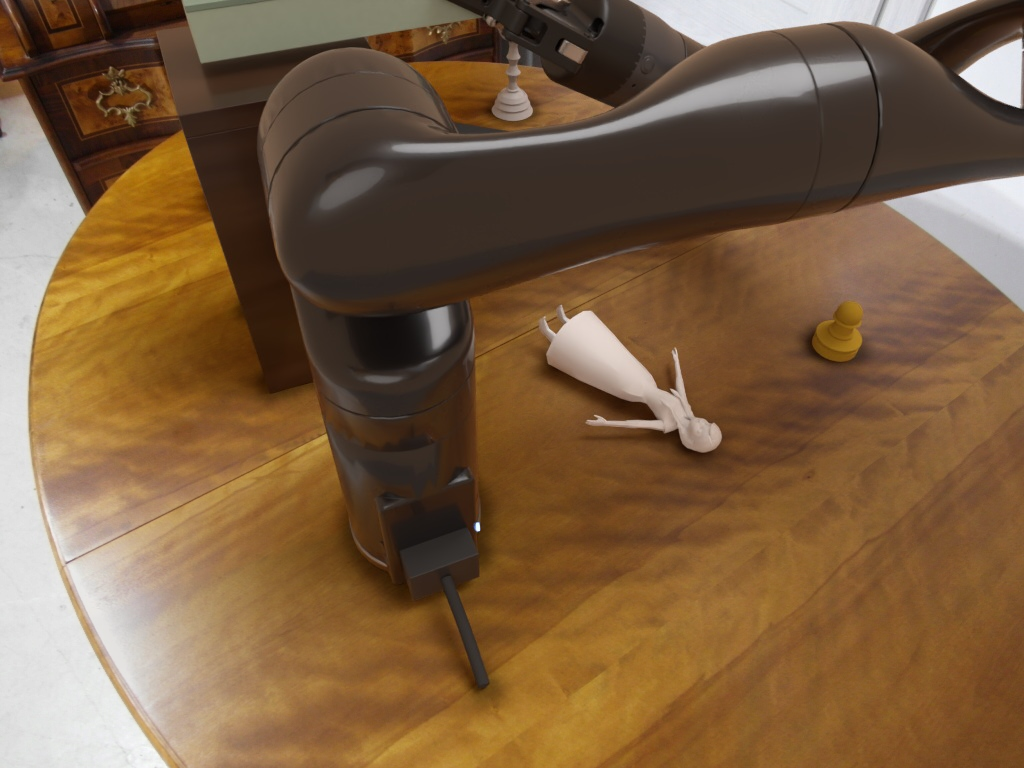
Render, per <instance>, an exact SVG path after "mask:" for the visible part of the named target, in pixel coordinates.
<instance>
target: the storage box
mask: <svg viewBox="0 0 1024 768" xmlns="http://www.w3.org/2000/svg"><path fill="white" fill-rule="evenodd" d="M515 2H516V1H515ZM181 4H182V7H183V11H184V14H185V17H186V21H187V24H188V26H189V27H190V31H191V34H192V37H193V40H194V43H195V47H196V50H197V53H198V56H199V59H200V62H201V63H208V62H214V61H220V60H226V59H232V58H239V57H245V56H251V55H257V54H263V53H269V52H275V51H281V50H287V49H293V48H300V47H306V46H312V45H318V44H324V43H330V42H336V41H342V40H348V39H354V38H361V37H367V36H368V37H373V36H378V35H385V34H390V33H397V32H401V31H402V32H403V31H408V30H416V29H422V28H426V27H432V26H440V25H446V24H452V23H458V22H464V21H469V20H476V19H483V18H484V16H485V13H484V16H483V17H482V16H479V15H477V14H475V13H473V12H471V11H469V10H466V9H464V8H462V7H460V6H458V5H456V4H453V3H451V2H449V1H447V0H181Z"/></svg>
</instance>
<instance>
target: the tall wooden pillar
mask: <svg viewBox="0 0 1024 768" xmlns="http://www.w3.org/2000/svg"><path fill="white" fill-rule="evenodd" d="M155 33H156V37H157V40H158V41H157V42H158V44H159V48H160V52H161V56H162V60H163V63H164V64H163V65H164V67H165V71H166V75H167V80H168V83H169V87H170V91H171V94H172V99H173V102H174V107H175V111H176V114H177V118H178V121H179V124H180V127H181V129H182V133H183V136H184V139H185V143H186V145H187V148H188V151H189V154H190V157H191V160H192V163H193V167H194V169H195V172H196V175H197V178H198V182H199V185H200V187H201V190H202V193H203V196H204V199H205V202H206V205H207V209H208V211H209V214H210V217H211V220H212V223H213V227H214V230H215V232H216V236H217V238H218V241H219V245H220V247H221V250H222V254H223V257H224V260H225V262H226V265H227V268H228V271H229V275H230V278H231V280H232V284H233V286H234V289H235V293H236V296H237V299H238V301H239V305H240V308H241V311H242V314H243V317H244V320H245V323H246V326H247V329H248V332H249V335H250V338H251V341H252V344H253V348H254V350H255V353H256V356H257V359H258V362H259V365H260V368H261V372H262V374H263V377H264V380H265V383H266V386H267V389H268V393H269V394H273V393H277V392H280V391H281V392H282V391H284V390H287V389H291V388H294V387H299V386H302V385H306V384H309V383H312V382H313V378H312V374H311V370H310V367H309V363H308V359H307V356H306V352H305V349H304V345H303V341H302V337H301V332H300V328H299V323H298V319H297V315H296V310H295V306H294V302H293V297H292V293H291V288H290V284H289V282H288V280H287V279H286V277H285V275H284V273H283V271H282V269H281V266H280V264H279V261H278V258H277V255H276V251H275V247H274V242H273V237H272V232H271V227H270V222H269V217H268V211H267V206H266V200H265V195H264V189H263V184H262V178H261V172H260V167H259V162H258V155H257V134H258V127H259V122H260V118H261V115H262V112H263V109H264V107H265V105H266V102H267V100H268V98H269V97H270V95H271V93H272V92H273V90H274V89H275V87H276V86H277V85H278V83H279V82H280V81H281V80H282V79H283V78H284V76H285V75H286V74H287V73H289V72H290V71H291V70H292V69H293V68H294V67H296V66H297V65H298V64H300V63H301V62H303V61H305V60H306V59H308V58H310V57H312V56H314V55H317V54H319V53H322V52H325V51H328V50H333V49H340V48H350V47H355V48H366V49H372V50H374V49H373V47H372V46H371V44H370V43H369V41H368V42H367V40H366V39H365V37H361V38H354V39H348V40H342V41H336V42H330V43H324V44H318V45H312V46H306V47H300V48H293V49H287V50H281V51H275V52H269V53H263V54H257V55H251V56H245V57H239V58H232V59H226V60H220V61H214V62H208V63H201V62H200V59H199V56H198V53H197V50H196V47H195V43H194V40H193V37H192V34H191V31H190V27H189V25H187V26H179V27H173V28H166V29H165V28H164V29H159V30H156V31H155ZM313 383H314V382H313Z"/></svg>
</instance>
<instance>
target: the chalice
mask: <svg viewBox="0 0 1024 768" xmlns="http://www.w3.org/2000/svg"><path fill="white" fill-rule="evenodd" d="M496 29H497V32H498V33H499V35H500V37H501V38H502V39H503V40H505V41H507V42H508V45H509V48H508V53H507V55H506V59H507V60H508V67H507V69H506V70H505V74H506V75H507V77H508V84H507V86H506V87H504V88H502V89H501V90H500V91H499V92H498V94H497V97H496V98H495V100H494V105H493V106H492V107H491V113H492V114H493V116H495V117H496V118H498V119H500V120H503V121H507V122H508V121H509V122H517V121H523V120H526V119H528V118H530V117H531V116H532V115H533V113H534V110H533V109H534V108H533V107H532V105H531V101H530V99H529V98H528V97H529V96H528V94H527V93H526V92H525V90H524V89H523V88H520V87H519V86H518V77H519V76H520V75H521V70H520V69H519V67H518V63H519V60H520V59H521V55H520V53H519V49H518V46H519V45H518V44H516V43H514V42H512V41H511V42H510V41H508V40H506V39H505V37H504V36H503V35H502V34H501V32H502V31H501V29H499V28H497V27H496Z"/></svg>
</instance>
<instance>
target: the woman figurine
mask: <svg viewBox="0 0 1024 768" xmlns="http://www.w3.org/2000/svg"><path fill="white" fill-rule="evenodd" d="M555 312H556V315H555V317H556V318H557V320H558V321H559V322H560V323H561V324H563V325H562V327H560V329H559V330H558V331H557V333H556V332H554V331H553V330H552V329H550V327H549V324H548V322H547V320H546V318H547V316H543V317H542V318H540V319H539V320H538V331H539V332H540V333H541V334H542V335H543V336H544V337H545V338H546V339H547V340H548V341H549V343H550V345H549V347H548V350H547V351H546V354H545V356H546V361H547V364H548V365H549V366H551V367H553V368H555V369H557V370H559V371H561V372H562V373H564V374H567V375H568V376H571V377H572V378H575V379H576V380H578V381H580V382H582V383H585V384H587V385H589V386H592V387H594V388H596V389H598V390H601V391H603V392H605V393H607V394H610V395H612V396H614V397H617V398H619V399H621V400H624V401H628V402H632V403H633V402H634V403H635V402H637V403H638V402H639V403H643V404H646V405H647V406H648V408H649V409H650V411H652V413H653V415H654V417H655V418H656V419H653V420H649V419H647V420H645V419H627V420H626V419H625V420H606V419H605V418H604V417H602V416H600V415H598V414H594V415H593V417H595V418H597V419H596V420H591V419H586V421H585V424H586V425H588V426H593V427H618V428H626V429H648V430H656V431H660V432H662V433H663V434H667V433H670V432H675V431H677V430H678V433H679V434H678V435H679V438H680V441H681V443H682V445H683V446H684V447H685V448H686V449H688V450H691V451H695V452H697V453H702V454H703V453H708V452H712V451H715V450H716V449H717V448H718V447H719V445H720V444H721V442H722V439H723V434H722V431H721V429H720V427H719V426H718V425H717V424H716V423H715V422H712V423H711V422H708V420H707V419H705V418H702V417H696V416H695V415H694V412H693V411H692V406H691V404H689V401H688V398H687V394H686V389H685V385H684V384H685V383H684V379H683V375H682V371H681V366H680V360H679V354H678V351H677V347H673V349H672V350H671V355H672V357H673V364H674V371H675V389H673V388H669V390H670V392H671V393H670V392H669V391H666V390H663V389H661V388H658V386H657V383H656V381H655V379H654V377H653V375H652V374H651V372H650V371H649V370H648V369H647V367H645V366H644V365H643V364H642V363H641V362H640V361H639V359H637V358H636V357H635V356H634V355H633V354H632V353H631V352H630V351H629V350H628V349H627V348H626V347H625V345H624V344H623V343H622V342H621V341H620V340H619V339H618V338H617V336H616V335H615V334H614V333H613V332H612V331H611V330H610V328H608V326H607V325H606V324H605V323H604V322H603V321H602V320H601V319H600V318H599V317H598V315H596V313H594V312H593V310H582V311H581V312H579V313H577V314H576V315H573V316H572V318H568V317H567V315H566V314H565V310H564V308H563V304H560V305H558V306H557V307H556V310H555Z"/></svg>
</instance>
